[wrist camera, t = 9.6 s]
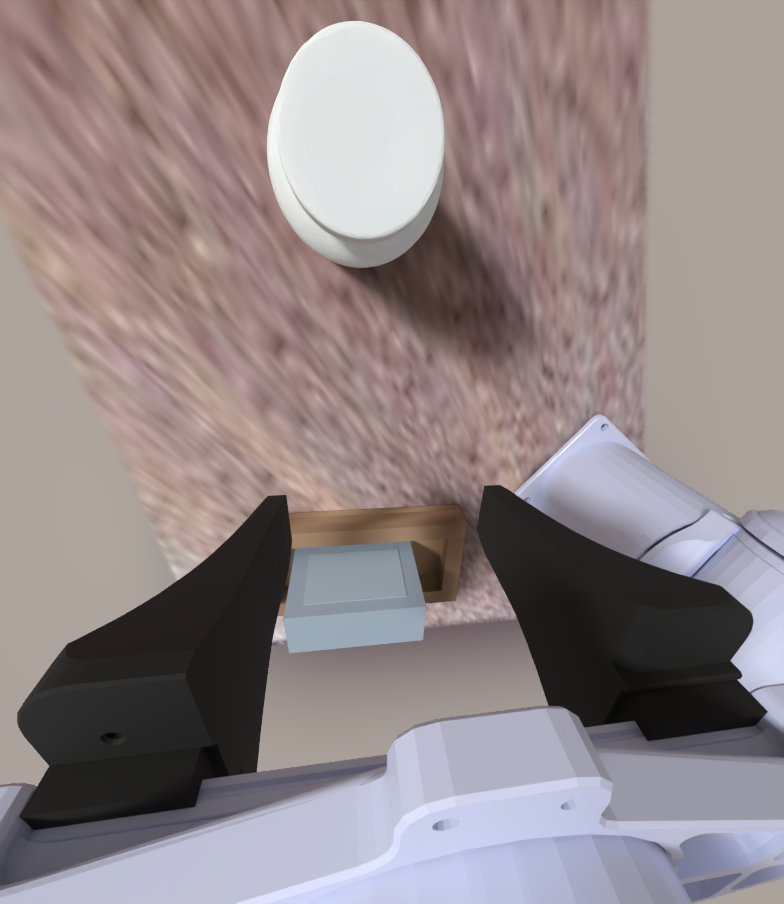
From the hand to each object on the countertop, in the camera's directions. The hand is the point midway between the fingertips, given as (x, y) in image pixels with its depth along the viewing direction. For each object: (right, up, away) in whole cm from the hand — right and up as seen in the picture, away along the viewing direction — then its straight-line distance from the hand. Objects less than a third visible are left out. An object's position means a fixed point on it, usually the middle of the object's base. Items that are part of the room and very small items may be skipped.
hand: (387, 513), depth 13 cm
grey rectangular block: (-3, -5, +13) cm, 14 cm away
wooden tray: (-2, -5, +14) cm, 15 cm away
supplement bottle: (-2, +14, +4) cm, 15 cm away
